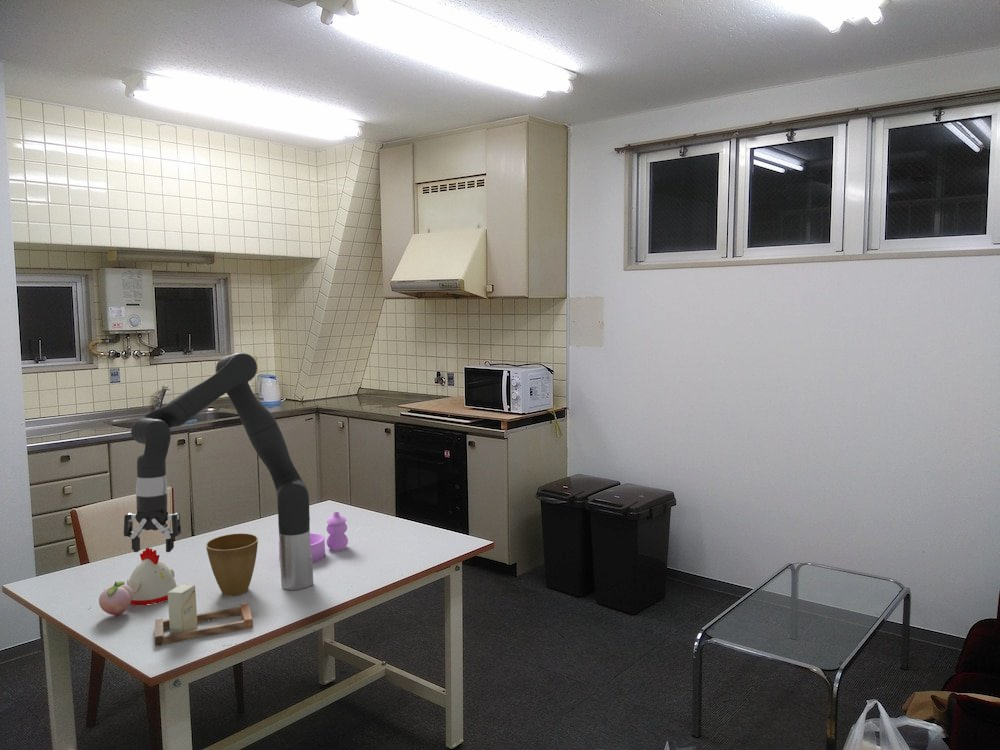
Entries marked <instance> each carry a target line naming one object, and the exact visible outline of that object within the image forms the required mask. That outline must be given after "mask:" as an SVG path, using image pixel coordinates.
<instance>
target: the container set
mask: <svg viewBox="0 0 1000 750" xmlns="http://www.w3.org/2000/svg"><path fill="white" fill-rule="evenodd" d="M326 520H327V521H326V523H327V526H326V532H327V533H328V535H329V536H328V537H327V539H326V538H325V536H324V535H323V534H321V533H315V532H310V549H311V555H312V564H315V563H318V562H320V561H322V560H324V558H325V557H326V545H327V547H328V548H329V549H330V551H334V552H336V551H342V550H344V549H345V548H346V547H347V546H348V544H349V538H348V535H346V534H345V533H346V532H347V531H348V530H347V529H348V525H347V523H346V522H347V518H346V517H345V516H343V515H340V511H334V512H333V513H332V516H330V517H328V518H327V519H326ZM325 539H326V542H325ZM325 544H326V545H325ZM278 554H279V555H278V556H279V557H278V559H279V560H278V561H280V545H279V544H278Z"/></svg>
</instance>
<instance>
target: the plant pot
mask: <svg viewBox="0 0 1000 750" xmlns="http://www.w3.org/2000/svg"><path fill="white" fill-rule="evenodd" d="M258 543H259V538H258V536H257V535H255V534H253V533H245V532H244V533H243V532H241V533H240V532H239V533H238V532H237V533H230V534H224V535H220V536H217V537H214V538H212V539H210V540H208V541H207V542H206V543H205V548H206V553H207V557H208V561H209V564H210V567H211V570H212V573H213V576H214V578H215V580H216V584H217V585H218V588H219V589H220V591H221V594H222V595H223V596H227V597H236V595H237V596H241V595H244V594H245V593H247V592H248V590H249V588H250V584H251V582H252V578H253V574H254V570H255V565H256V559H257V554H258Z"/></svg>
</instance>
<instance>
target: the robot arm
mask: <svg viewBox="0 0 1000 750" xmlns="http://www.w3.org/2000/svg"><path fill="white" fill-rule="evenodd" d="M257 372H258V364H257V362H256V360H255V358H254V357H253V356H252V355H250V354H249V353H245V352H238V353H237V352H236V353H232V354H230V355H227V356H224V357H222V358H220V359H219V360H218V361H217V363H216V366H215V374H213V375H211V376H209V377H208V378H207V379H205V380H203V381H201V382H200V383H198V384H196V385H194V386H193V387H191V388H188V389H187V390H185V391H183V392H182V393H181V394H179V395H177V396H176V397H175V398H173V399H172V400H170V402H168V403H166V405H164V406H162V407H160V408H156V409H155V410H153V411H151V412H148V413H146V414H145V415H143V416H141V417H140V418H138V419H137V420H136V421H135V422H134V424H133V425H132V427H131V430H130V433H131V438H132V439H133V440H134V441H135V442H137V443H139V444H142V445H144V451H143V453H142V454H140V455H139V456H138V458H137V460H136V482H135V483H136V484H135V485H136V486H135V493H136V495H135V496H136V513H133V512H128V513H127V514H125V515H124V518H123V520H124V521H123V536H124V537H129V538H130V539H131V550H132V551H133V552H134V553H138V552H140V551H141V537H140V534H142V532H143V531H158V530H159V532H160V533H161V534H163V535H164V536H165V553H171V552H172V550H174V548H175V538H176V537H178V536H179V535H180V534H181V533H182V526H181V514H180V513H179V512H176V513H169V512H168V481H167V472H166V469H167V467H166V466H167V463H166V461H167V456H168V452H169V449H170V448H169V447H170V443H171V439H172V437H171V436H172V435H171V428H176V427H180V426H183V425H184V424H186V423H187V422H188V421H190V420H191V419H192V418H194V417H195V416H196V415H198V414H199V413H200V412H202V411H203V410H205V408H208V406H209V405H211V404H212V403H213V402H215V401H216V400H218V399H219V398H220V397H222V396H224V395H225V394H226V395H227V396H228V398H229V399H230V401H231V403H232V405H233V406H234V409H235V411H236V413H237V415H238V417H239V419H240V421H241V423H242V425H243V428H244V430H245V432H246V435H247V437H248V439H249V441H250V443H251V445H252V447H253V449H254V451H255V452H256V454H257V455H258V457H259V459H260V460H261V461H262V463H263V464H264V465H265V466H266V469H267V470H268V472H269V474H270V477H271V479H272V482H273V485H274V489H275V491H276V495H277V496H276V498H277V518H278V524H277V525H278V540H279V541H278V546H279V545H280V560H279V563H280V564H279V565H280V566H279V567H280V583H281V584H280V585H281V588H282V589H284V590H287V591H297V590H302V589H306V588H308V587H311V586H314V571H313V569H314V568H313V567H314V566H313V564H314V563H312V555H311V549H310V533H311V528H310V519H311V517H310V495H309V489H308V487H307V485H306V482H304V480H303V479H302V477H301V476H300V474H299V472H298V470H297V469H296V467H295V465H294V463H293V461H292V459H291V456H290V454H289V449H288V446H287V444H286V441H285V438H284V435H283V433H282V431H281V429H280V426H279V424H278V422H277V420H276V418H275V417H274V415H273V413H272V412H271V411H270V410H268V409H267V407H266V406H265V405H264V404H263V403H261V401H259V399H258V398H257V397H256V396H255V394H254V392H253V390H252V388H251V385H250V383H249V382H251V381H252V380H253V379H254V378H255V376H256V375H257ZM135 520H136V522H137V523H138V524H137V526H136V527H135V529H134V528H133V525H134V521H135ZM168 520H169V521H170V523H171V526H170V524H169V523H168ZM171 527H172V529H171ZM133 529H134V531H133Z"/></svg>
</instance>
